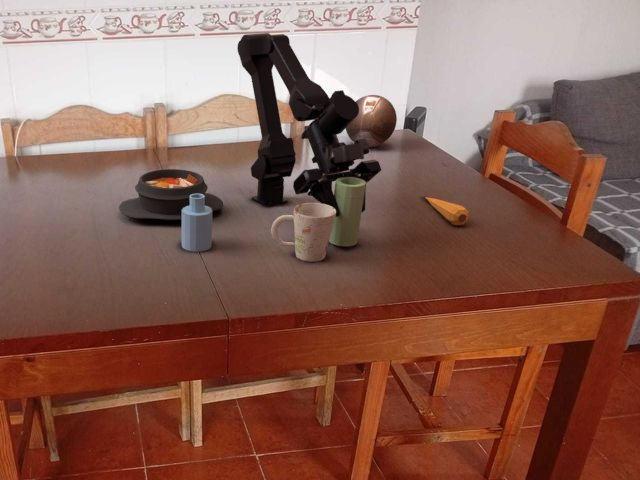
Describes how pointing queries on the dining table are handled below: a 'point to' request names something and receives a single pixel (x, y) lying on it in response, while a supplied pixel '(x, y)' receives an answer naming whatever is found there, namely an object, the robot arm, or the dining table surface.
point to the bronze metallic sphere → (373, 120)
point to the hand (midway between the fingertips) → (350, 213)
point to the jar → (347, 210)
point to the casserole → (167, 195)
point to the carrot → (450, 211)
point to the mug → (309, 230)
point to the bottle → (197, 225)
